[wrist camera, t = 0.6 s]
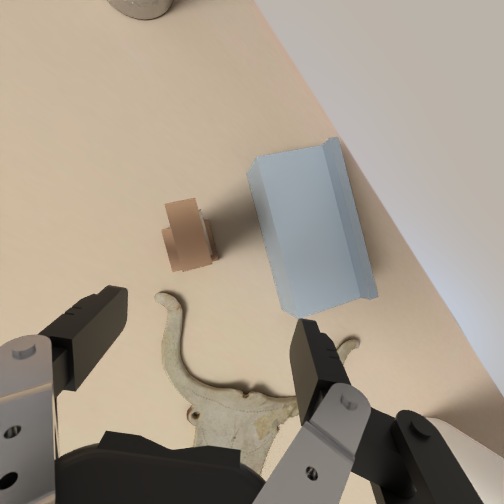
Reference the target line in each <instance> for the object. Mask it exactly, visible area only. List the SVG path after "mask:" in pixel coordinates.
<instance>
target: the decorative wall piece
mask: <svg viewBox="0 0 504 504" xmlns="http://www.w3.org/2000/svg"><path fill="white" fill-rule="evenodd" d="M155 301H156V302H159V303H161V304H162V305H163V306H165V307H166V308H167V310H168V319H167V324H166V328H165V331H164V335H163V340H162V364H163V367H164V370H165V372H166V374H167V376H168V378H169V380H170V382H171V383H172V385H173V386H174V388H175V389H176V390H177V391H178V392H179V393H180V394H181V395H182V396H183V397H184V398H185V399H186V400H187V401H189V402H190V403H191V404H192V405H191V407H190V408H189V409H188V411H187V419H188V421H189V422H190V423H191V424H193V425H194V426H196V430H195V439H194V445H193V447H199V446H207V445H210V446H217V447H224V448H231V449H238V450H241V457H240V462H241V463H243V464H245V465H247V466H248V467H250V468H251V469H253V470H254V471H255V472H256V473H258V474H259V475H260V472H261V470H262V467H263V463H264V461H265V458H266V456H267V453H268V451H269V448H270V446H271V443H272V441H273V439H274V437H275V435H276V434H277V433H278V428H277V426H278V425H279V424H284V422H285V421H286V420H287V419H288V418H290V417H294V416H297V415H299V410H298V404H297V398H296V396H292V397H286V398H283V397H282V398H274V397H269V396H266V395H264V394H262V393H260V392H254V391H253V392H249V394H246V395H244V394H243V392H242V391H241V390H236V389H232V388H215V387H211V386H209V385H207V384H204V383H202V382H200V381H198V380H197V379H195V378H194V377H192V376H191V375H190V374H189V373H188V372H187V370H186V368H185V367H184V365H183V362H182V360H181V356H180V338H181V331H182V320H183V318H182V307H181V305H180V303H179V302H178V301H177V300H176V298H175V297H173V296H172V295H170V294H167V293H164V292H161V293H157V294H156V295H155ZM359 345H360V343H359V341H358V340H355V339H351V340H348V341H346V342H345V343H343V344H342V345H341V346H340V347H339V348H338V350H337V352H338V355H339V357H340V360H341V362H342V364H344V361H345V359H346V357H347V355H348V354H349V353H350V351H351V350H353V349H355V348H359ZM194 412H199V414H198V415H194V414H193V413H194Z"/></svg>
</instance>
